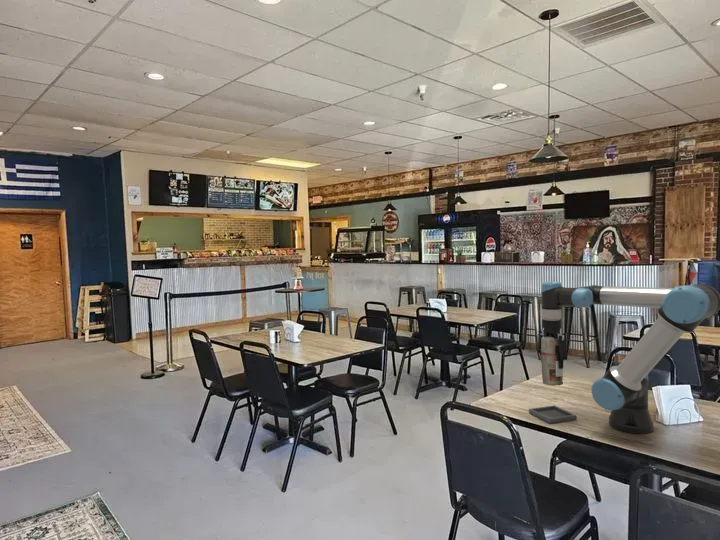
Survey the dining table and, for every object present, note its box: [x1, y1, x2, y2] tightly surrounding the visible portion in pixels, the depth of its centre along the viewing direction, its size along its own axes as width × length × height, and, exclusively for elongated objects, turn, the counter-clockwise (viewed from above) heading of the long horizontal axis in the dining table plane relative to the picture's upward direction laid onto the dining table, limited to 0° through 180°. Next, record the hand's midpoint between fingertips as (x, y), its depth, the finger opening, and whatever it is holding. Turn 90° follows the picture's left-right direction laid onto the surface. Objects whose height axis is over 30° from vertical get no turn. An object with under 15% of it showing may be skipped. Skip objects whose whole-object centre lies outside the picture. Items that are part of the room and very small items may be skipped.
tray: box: [528, 405, 577, 425], centre depth 193 cm, size 13×13×2 cm
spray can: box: [540, 336, 564, 387], centre depth 192 cm, size 8×8×20 cm
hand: (551, 373), depth 193 cm, fingers closed on spray can, 8 cm apart
